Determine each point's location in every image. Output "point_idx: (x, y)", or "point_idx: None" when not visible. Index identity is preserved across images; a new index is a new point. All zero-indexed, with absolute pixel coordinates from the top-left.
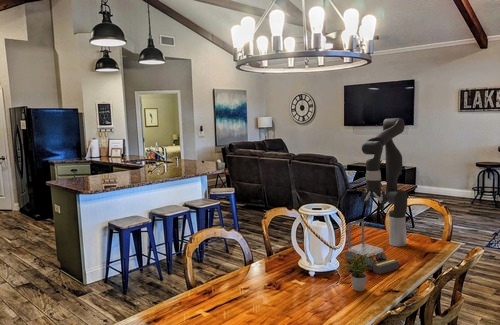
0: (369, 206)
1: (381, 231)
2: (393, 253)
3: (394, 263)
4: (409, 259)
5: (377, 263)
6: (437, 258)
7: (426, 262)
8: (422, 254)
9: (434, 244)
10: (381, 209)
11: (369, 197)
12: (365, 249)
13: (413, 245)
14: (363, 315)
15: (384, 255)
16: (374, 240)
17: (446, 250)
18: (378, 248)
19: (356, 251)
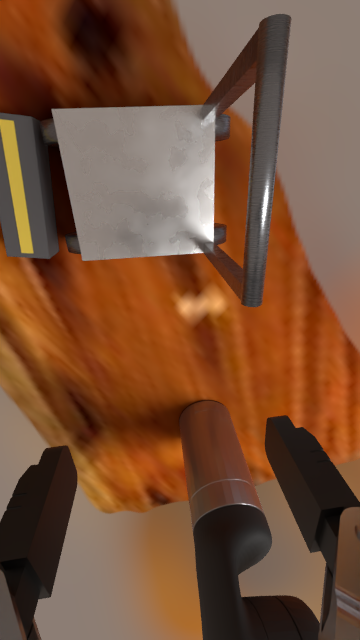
0: (268, 453)
1: None
2: (154, 353)
3: (4, 228)
4: (77, 349)
5: (28, 147)
6: (38, 414)
7: (25, 368)
8: (90, 408)
9: (133, 480)
10: (47, 456)
11: (324, 635)
12: (128, 171)
13: (165, 442)
14: None
15: (70, 243)
16: (280, 396)
17: (78, 471)
18: (99, 245)
19: (148, 108)
